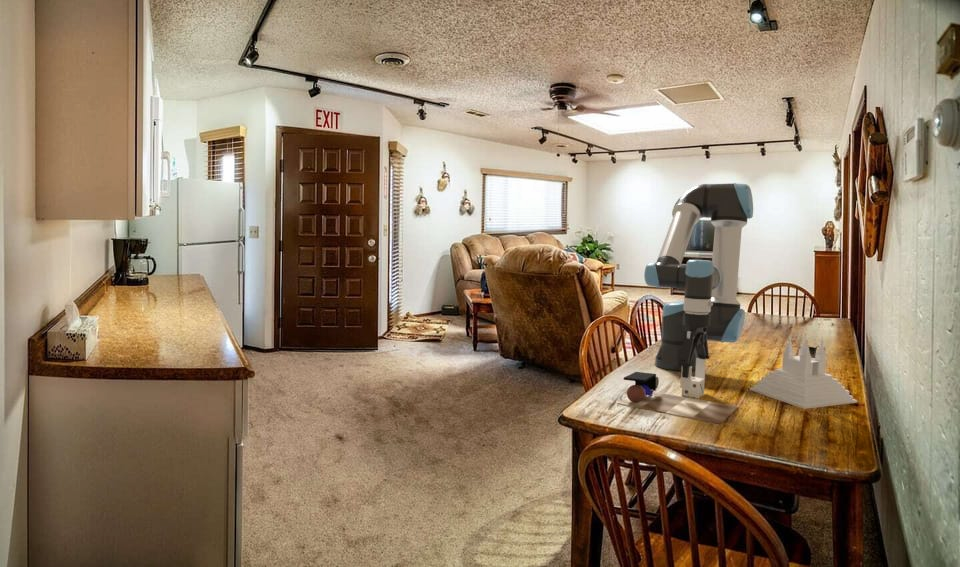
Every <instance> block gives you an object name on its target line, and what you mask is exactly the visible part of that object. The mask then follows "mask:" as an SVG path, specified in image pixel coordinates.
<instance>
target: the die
mask: <svg viewBox="0 0 960 567" xmlns="http://www.w3.org/2000/svg"><path fill="white" fill-rule="evenodd" d="M705 381H706V378H705V379H704V378H698V377H695V376H693V375H691V389H684V388H681V396H682V395H684V396H683V397H688V396H689V397H688V398H693V397H695V398H694V399H700V398H701V397H702V395H703V396H704V395H705ZM699 397H700V398H699Z"/></svg>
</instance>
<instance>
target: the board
mask: <svg viewBox="0 0 960 567" xmlns="http://www.w3.org/2000/svg"><path fill="white" fill-rule="evenodd" d="M616 405H621V406H626V407H631V408H636V409H641V410H647V411H652V412H656V413H662V414H667V415H672V416H677V417H681V418H687V419H692V420H697V421H701V422H707V423H711V424H717V425H721V424H723V422H724V421H725V420H727V419H728V418H729V417H730V416H731V415H732V414H733V413H734V412H736V410H738V409H739V406H736V405H730V404H726V403H719V402H714V401H707V400H702V399H699V398H693V397H688V396H682V395H676V394H675V395H674V394H671V393H669V394H668V393H663V392H658V391H654V392H653V394H651V395H649V396H648V395H646V396H645V398H644V400H643V401H641V402H638V403H635V402H632V401H630V400H629V399H628V397H627V396H626V397H625V398H622V399H621V400H619V401H617V402H616Z"/></svg>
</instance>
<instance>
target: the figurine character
mask: <svg viewBox="0 0 960 567" xmlns="http://www.w3.org/2000/svg"><path fill="white" fill-rule="evenodd" d="M623 380H624V381H631V382H635V384H632V385H630V386H629V387H628V388H627V390H626V397H628V399H629V400H630V401H632V402H635V403H638V402H641V401H643V400H644V398H645V396H646V395H648V396H649V395H651V394H653V392H657V389H658V387H659V381H660V379H659V377H658V376H657V374H656V373H651V372H643V371H635V372H632V373H630V374H628V375H626V376H624V377H623Z"/></svg>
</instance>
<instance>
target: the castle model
mask: <svg viewBox="0 0 960 567" xmlns="http://www.w3.org/2000/svg"><path fill="white" fill-rule="evenodd" d="M791 341H792V338H791V334H789V335H788V339H787V342H786V345H785V346H784V347H785V349H784V350H783V351H782V366H781V368H777V369H776V368H775V369H774V371H769V374H765V375H764V377H761V379H760V380H759V379H758V380H757V384H756V383H755V384H754V385H753V387H750V388H749V390H750V391H752V392H754V393H757V394H761V395H762V396H766V397H769V398H772V399H775V400H778V401H781V402H784V403H787V404H789V405H792V406H796V407H797V408H800V409H804V410H806V409H813V408H822V407H823V408H824V407H829V406H830V407H831V406H838V405H839V406H840V405H849V404H855V403H856V404H857V402H858V400H857V399H855V398H854V396H853V395H850V390H848V389H846V386H843V382H839V379H838V378H834V377H833V376H834V375H832V374H829V373H826V370H827V369H826V368H827V353H826V350H825V349H826V347H825V345H824V337H821V340H820V345H818V346H819V347H818V348H817V351H816V355H815V358H811V356H810V351H809V347H810V346H808V345H809V342H808V338H807V335H806V333H804V335H803V341H801V345H800V346H801V348H800V349H799V348H798V351H799V352H798V351H797V355H795V356H794V354H795V351H794V350H793V343H792V342H791ZM824 348H825V349H824Z"/></svg>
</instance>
